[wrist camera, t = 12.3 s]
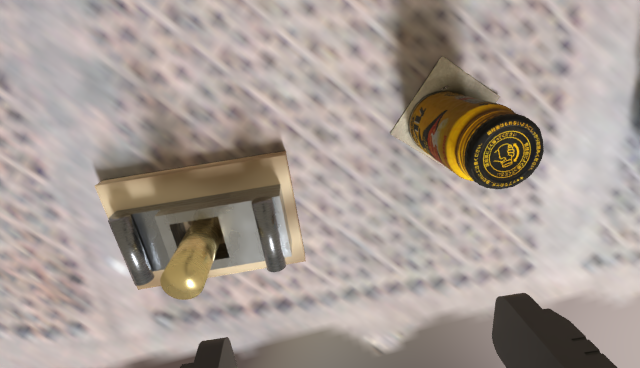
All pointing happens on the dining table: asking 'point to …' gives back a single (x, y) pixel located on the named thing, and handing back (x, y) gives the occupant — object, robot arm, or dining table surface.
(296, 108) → the dining table surface
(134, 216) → the clamp block fixture
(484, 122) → the condiment
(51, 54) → the dining table surface
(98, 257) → the dining table surface
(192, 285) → the brass pin
